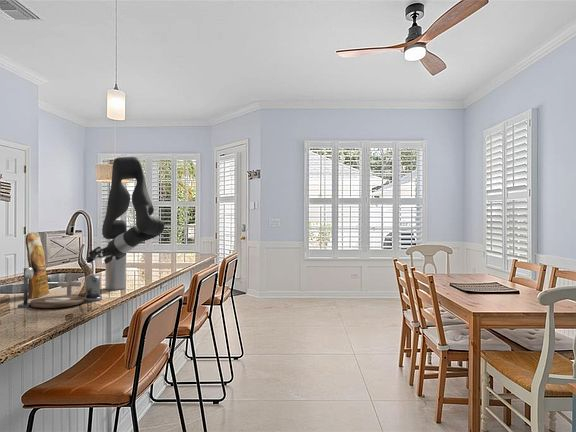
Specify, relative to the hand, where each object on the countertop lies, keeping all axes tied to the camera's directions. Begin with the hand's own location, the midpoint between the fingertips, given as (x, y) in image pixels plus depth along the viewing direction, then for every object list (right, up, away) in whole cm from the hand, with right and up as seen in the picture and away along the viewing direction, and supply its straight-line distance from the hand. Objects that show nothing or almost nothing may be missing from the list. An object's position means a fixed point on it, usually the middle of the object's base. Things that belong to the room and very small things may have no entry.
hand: (96, 261), depth 188 cm
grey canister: (-2, -17, +2) cm, 17 cm away
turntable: (-12, -17, -9) cm, 22 cm away
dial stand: (-22, -16, -13) cm, 31 cm away
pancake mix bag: (-31, -17, +11) cm, 37 cm away
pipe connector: (-17, -17, +12) cm, 26 cm away
